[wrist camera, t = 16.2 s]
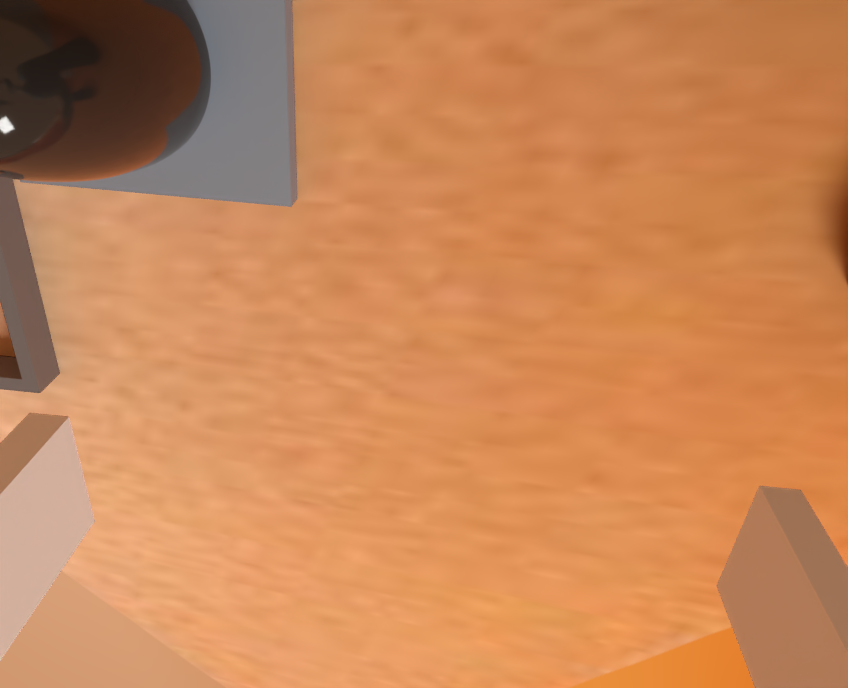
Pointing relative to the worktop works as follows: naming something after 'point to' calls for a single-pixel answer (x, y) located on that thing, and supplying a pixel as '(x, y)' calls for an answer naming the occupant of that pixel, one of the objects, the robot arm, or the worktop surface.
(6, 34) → the dark brown egg shape
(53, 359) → the gray open frame
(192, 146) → the slate-blue board
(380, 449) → the worktop surface
